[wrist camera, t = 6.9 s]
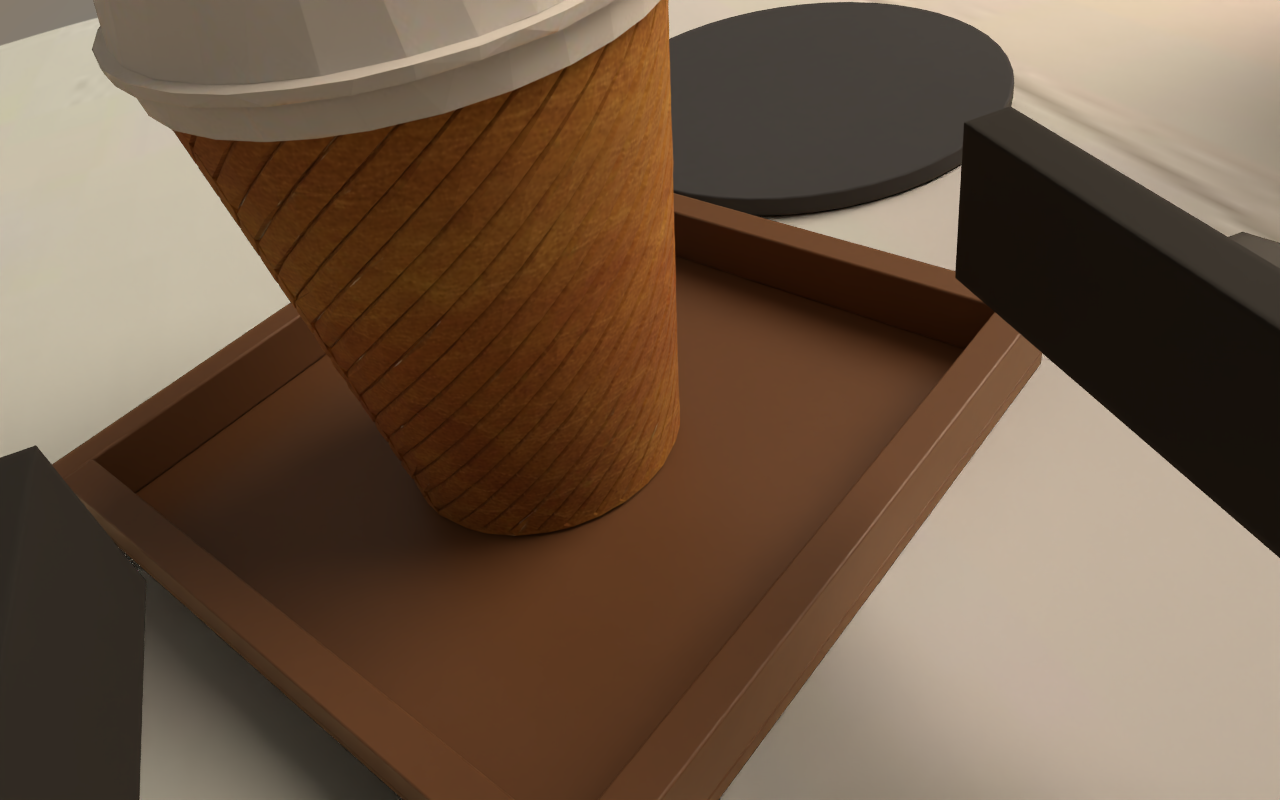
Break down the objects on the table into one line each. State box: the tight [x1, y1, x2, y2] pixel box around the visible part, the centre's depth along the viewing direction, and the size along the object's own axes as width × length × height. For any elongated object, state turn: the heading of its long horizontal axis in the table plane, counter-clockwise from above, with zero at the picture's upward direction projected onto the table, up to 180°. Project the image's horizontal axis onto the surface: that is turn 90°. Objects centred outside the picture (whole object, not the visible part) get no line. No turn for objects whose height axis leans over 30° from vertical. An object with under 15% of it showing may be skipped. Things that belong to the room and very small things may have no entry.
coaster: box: [669, 2, 1014, 216], centre depth 34 cm, size 14×14×1 cm
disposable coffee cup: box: [92, 0, 680, 536], centre depth 19 cm, size 10×10×12 cm
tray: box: [52, 193, 1042, 800], centre depth 23 cm, size 17×16×2 cm
